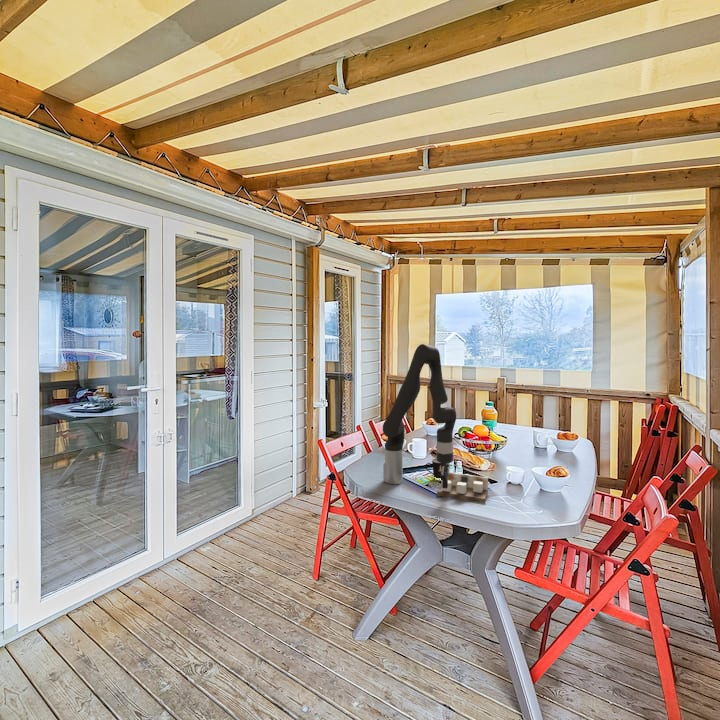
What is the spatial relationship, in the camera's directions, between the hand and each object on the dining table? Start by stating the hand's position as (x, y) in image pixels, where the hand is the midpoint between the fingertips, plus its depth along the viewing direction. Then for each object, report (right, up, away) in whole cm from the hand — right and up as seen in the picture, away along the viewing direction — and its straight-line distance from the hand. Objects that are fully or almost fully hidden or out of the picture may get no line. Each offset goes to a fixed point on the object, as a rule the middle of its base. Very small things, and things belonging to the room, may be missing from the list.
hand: (445, 487), depth 191 cm
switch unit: (+10, -5, +7) cm, 13 cm away
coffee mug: (+2, -4, +29) cm, 29 cm away
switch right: (+17, -3, +6) cm, 18 cm away
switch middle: (+9, -3, +4) cm, 10 cm away
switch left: (+2, -3, +7) cm, 8 cm away
